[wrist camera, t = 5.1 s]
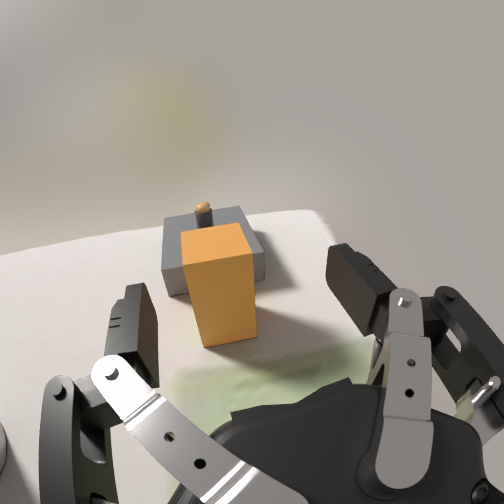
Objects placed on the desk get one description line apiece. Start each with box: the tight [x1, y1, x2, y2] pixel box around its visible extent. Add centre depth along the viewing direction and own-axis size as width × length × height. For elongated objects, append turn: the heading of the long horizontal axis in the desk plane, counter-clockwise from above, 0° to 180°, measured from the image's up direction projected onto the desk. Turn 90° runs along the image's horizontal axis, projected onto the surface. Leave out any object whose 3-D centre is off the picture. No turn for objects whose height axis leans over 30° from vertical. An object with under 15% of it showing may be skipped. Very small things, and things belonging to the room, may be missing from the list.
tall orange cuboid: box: [181, 223, 257, 347], centre depth 26 cm, size 5×5×10 cm
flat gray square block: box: [161, 202, 265, 296], centre depth 37 cm, size 14×12×8 cm
